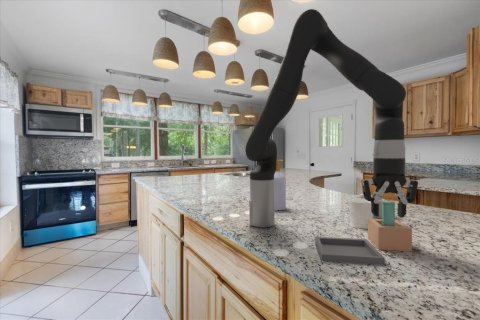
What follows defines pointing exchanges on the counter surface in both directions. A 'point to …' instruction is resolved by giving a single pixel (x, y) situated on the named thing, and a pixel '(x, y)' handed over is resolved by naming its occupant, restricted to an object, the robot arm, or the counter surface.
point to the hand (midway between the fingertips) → (388, 216)
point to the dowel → (388, 213)
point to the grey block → (378, 203)
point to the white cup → (360, 212)
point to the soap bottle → (279, 189)
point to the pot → (390, 235)
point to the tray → (347, 250)
